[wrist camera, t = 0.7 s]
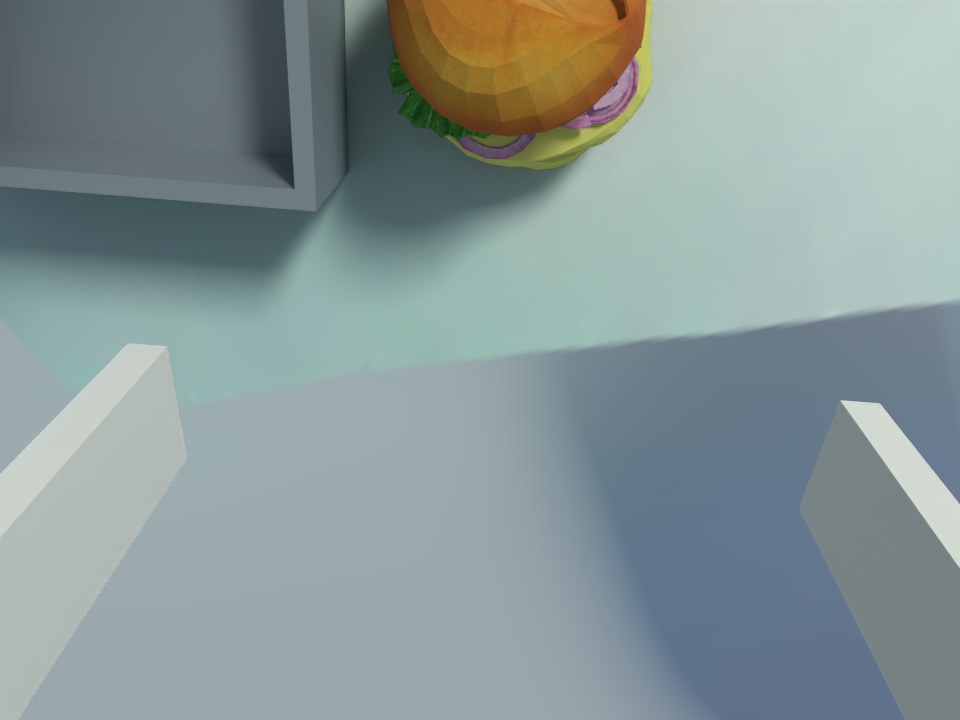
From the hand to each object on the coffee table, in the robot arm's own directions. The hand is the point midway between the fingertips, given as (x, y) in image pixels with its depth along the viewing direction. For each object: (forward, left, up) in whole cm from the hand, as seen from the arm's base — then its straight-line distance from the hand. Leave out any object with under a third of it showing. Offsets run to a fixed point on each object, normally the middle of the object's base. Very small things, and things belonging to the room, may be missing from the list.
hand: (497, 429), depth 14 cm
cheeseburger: (-6, 0, -21) cm, 22 cm away
